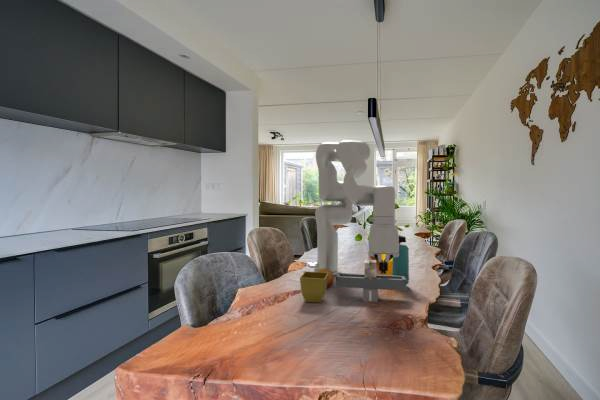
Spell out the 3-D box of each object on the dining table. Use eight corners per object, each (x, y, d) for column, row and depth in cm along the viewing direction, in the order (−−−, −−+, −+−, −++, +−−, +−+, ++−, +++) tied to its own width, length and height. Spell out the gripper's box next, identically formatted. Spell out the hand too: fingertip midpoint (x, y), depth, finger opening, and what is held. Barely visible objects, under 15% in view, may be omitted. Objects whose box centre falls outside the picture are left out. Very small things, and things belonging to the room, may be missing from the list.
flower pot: (325, 305, 115) (325, 278, 114) (299, 303, 116) (299, 277, 116) (328, 297, 123) (328, 272, 123) (304, 296, 125) (304, 271, 125)
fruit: (333, 279, 143) (333, 265, 138) (333, 294, 136) (333, 279, 132) (314, 279, 143) (313, 264, 139) (313, 293, 137) (312, 279, 133)
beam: (335, 299, 121) (335, 277, 121) (337, 292, 130) (337, 271, 130) (406, 303, 116) (406, 281, 116) (403, 295, 125) (403, 274, 125)
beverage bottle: (405, 289, 133) (406, 237, 132) (389, 286, 137) (389, 236, 136) (411, 286, 138) (411, 236, 138) (395, 283, 142) (395, 234, 142)
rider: (364, 282, 121) (364, 262, 120) (364, 278, 126) (364, 259, 126) (376, 283, 120) (376, 263, 120) (375, 279, 125) (375, 259, 125)
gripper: (362, 221, 119) (361, 274, 120) (407, 222, 117) (406, 276, 117) (362, 219, 127) (361, 269, 127) (404, 220, 124) (404, 271, 124)
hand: (383, 272), depth 122 cm, fingers closed
